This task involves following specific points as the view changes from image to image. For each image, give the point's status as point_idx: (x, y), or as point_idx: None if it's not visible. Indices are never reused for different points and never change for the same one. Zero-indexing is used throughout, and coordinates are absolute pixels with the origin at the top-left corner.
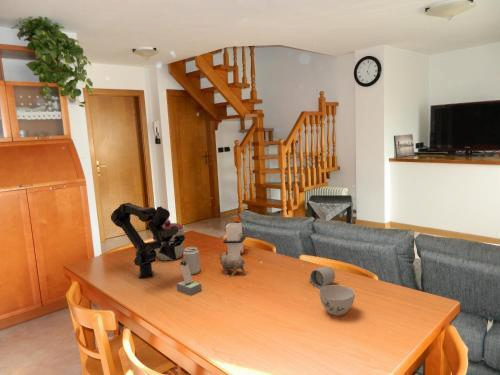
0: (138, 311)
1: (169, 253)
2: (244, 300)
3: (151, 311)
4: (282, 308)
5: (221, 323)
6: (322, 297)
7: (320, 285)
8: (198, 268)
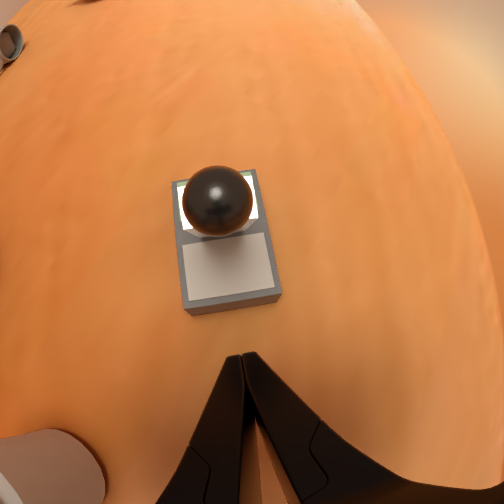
0: (475, 223)
1: (327, 434)
2: (147, 58)
3: (440, 187)
4: (136, 13)
5: (283, 23)
6: None
7: (10, 58)
8: (34, 431)
